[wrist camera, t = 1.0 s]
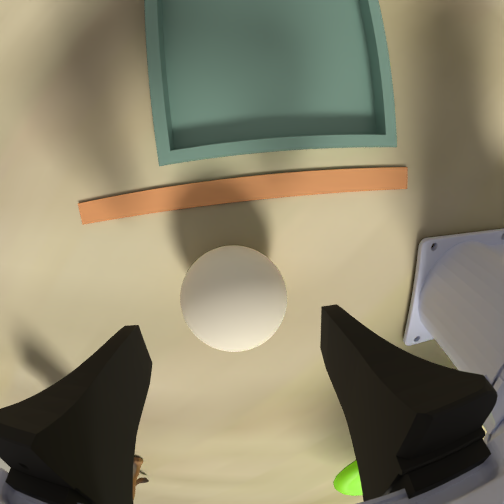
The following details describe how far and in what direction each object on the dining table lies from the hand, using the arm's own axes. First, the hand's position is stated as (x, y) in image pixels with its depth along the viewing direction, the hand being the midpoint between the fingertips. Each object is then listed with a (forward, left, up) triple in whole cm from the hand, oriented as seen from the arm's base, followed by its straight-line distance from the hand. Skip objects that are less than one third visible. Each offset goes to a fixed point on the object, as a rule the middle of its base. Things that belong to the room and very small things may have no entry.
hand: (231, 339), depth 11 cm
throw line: (-1, -5, -6) cm, 7 cm away
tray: (-3, -12, -6) cm, 14 cm away
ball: (0, 0, -6) cm, 6 cm away
